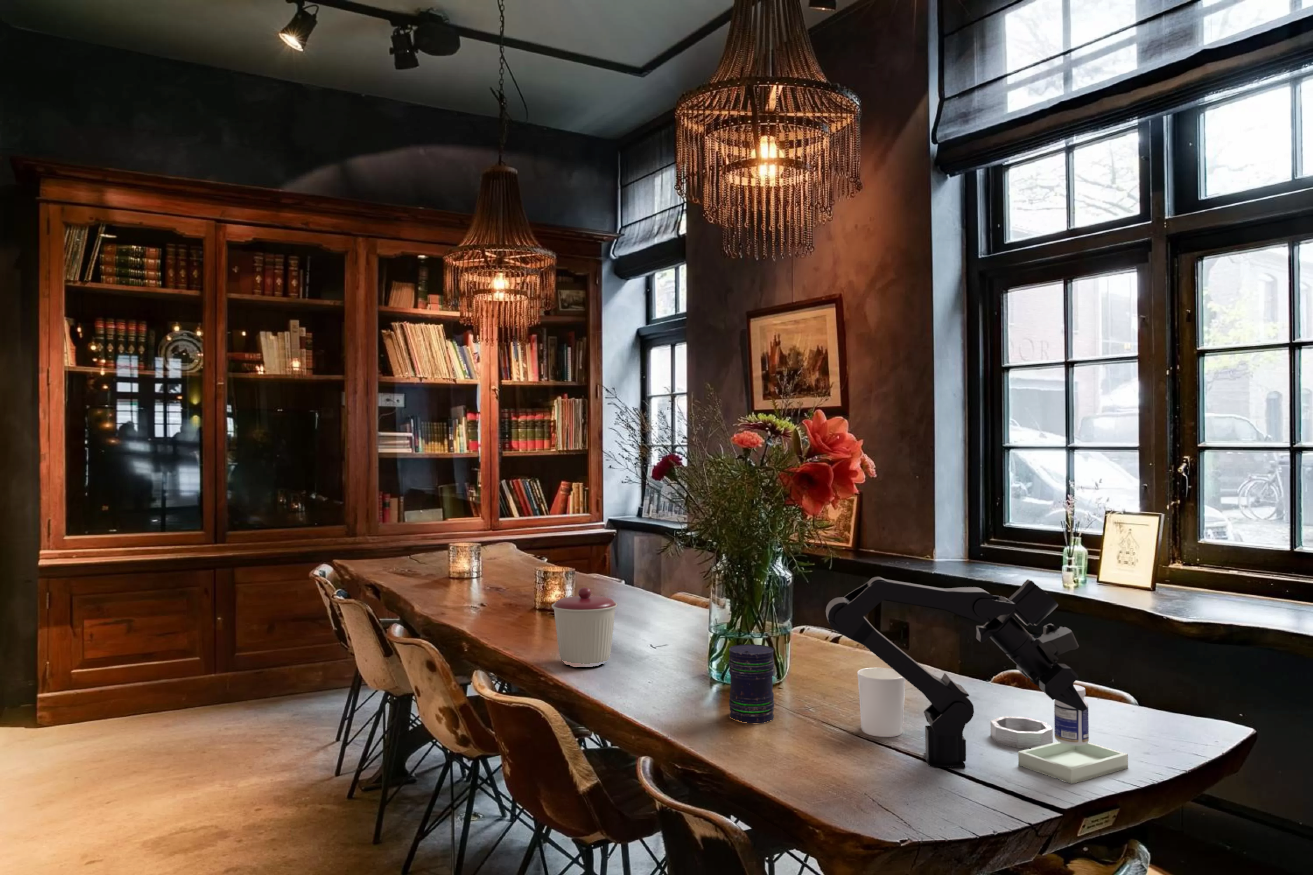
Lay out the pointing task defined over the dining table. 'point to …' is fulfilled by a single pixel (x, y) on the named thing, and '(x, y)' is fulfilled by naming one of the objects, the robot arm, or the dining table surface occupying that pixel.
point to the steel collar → (1021, 732)
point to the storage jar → (751, 683)
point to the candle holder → (881, 701)
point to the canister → (584, 627)
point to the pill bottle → (1071, 722)
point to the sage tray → (1073, 761)
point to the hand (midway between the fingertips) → (1079, 704)
